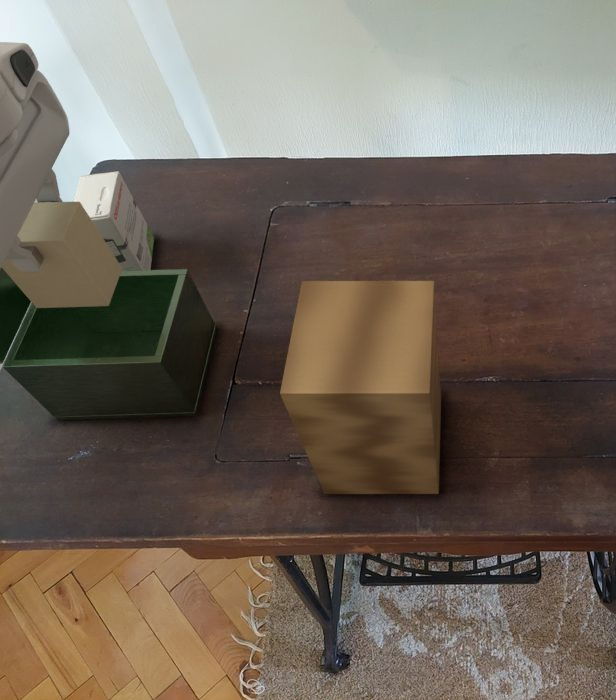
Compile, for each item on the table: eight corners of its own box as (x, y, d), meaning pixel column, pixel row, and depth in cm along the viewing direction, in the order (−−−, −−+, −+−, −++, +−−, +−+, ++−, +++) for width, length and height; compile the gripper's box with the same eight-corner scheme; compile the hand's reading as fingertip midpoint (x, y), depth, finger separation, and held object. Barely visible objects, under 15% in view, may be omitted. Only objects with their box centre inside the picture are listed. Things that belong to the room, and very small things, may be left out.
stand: (324, 494, 68) (279, 393, 52) (337, 396, 75) (301, 280, 59) (438, 494, 68) (429, 393, 52) (441, 396, 75) (434, 280, 59)
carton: (108, 306, 63) (61, 240, 56) (36, 308, 63) (-21, 242, 56) (122, 268, 66) (79, 201, 59) (53, 270, 66) (1, 203, 59)
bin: (217, 328, 81) (187, 268, 72) (196, 416, 74) (160, 362, 65) (91, 331, 81) (45, 272, 72) (57, 420, 73) (1, 366, 64)
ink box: (119, 242, 90) (77, 173, 80) (156, 237, 90) (119, 168, 81) (111, 288, 85) (65, 221, 75) (150, 283, 85) (110, 215, 76)
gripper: (-72, 201, 42) (41, 329, 54) (37, 33, 54) (111, 167, 65) (-171, 203, 42) (-36, 331, 53) (-40, 35, 54) (48, 169, 65)
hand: (45, 240), depth 59 cm, fingers closed on carton, 5 cm apart
